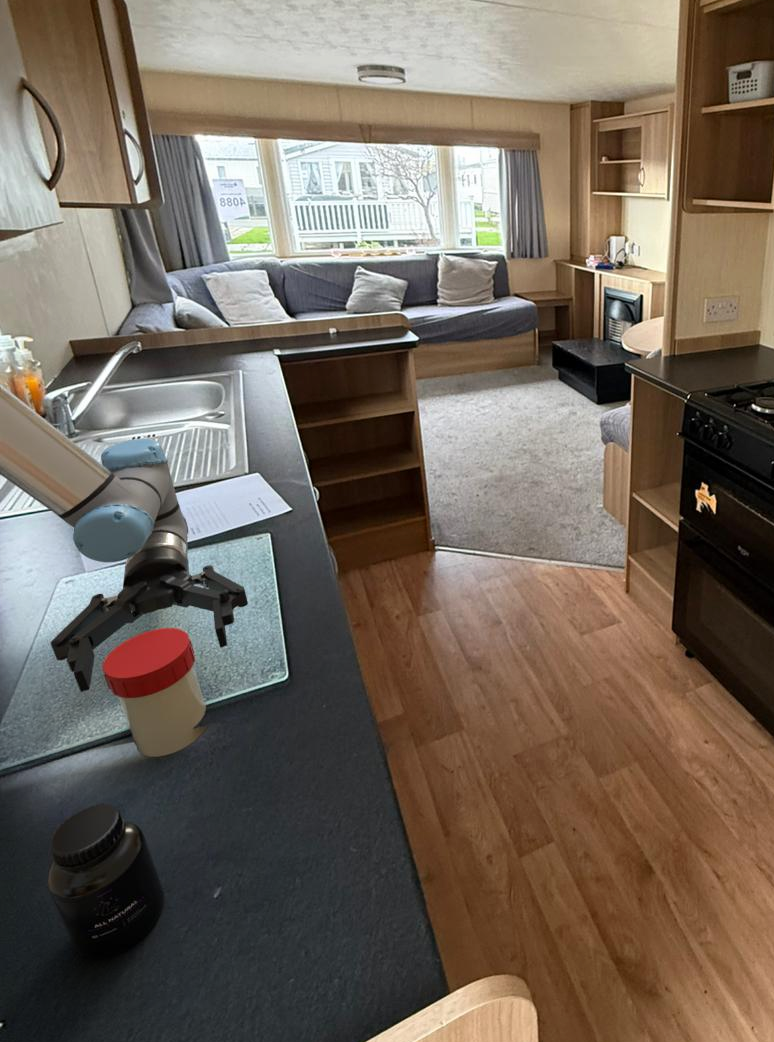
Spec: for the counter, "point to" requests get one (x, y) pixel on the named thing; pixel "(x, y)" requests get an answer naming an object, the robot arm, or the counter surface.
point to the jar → (166, 717)
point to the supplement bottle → (103, 881)
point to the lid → (148, 663)
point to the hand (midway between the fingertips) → (154, 658)
